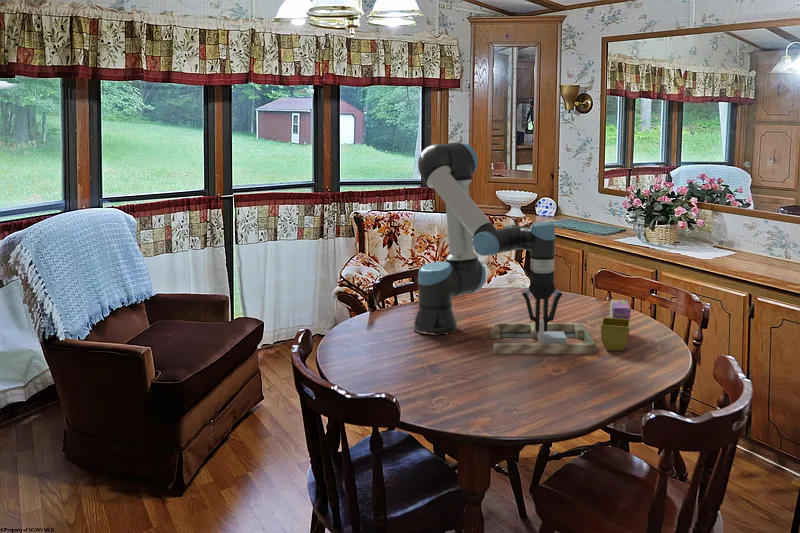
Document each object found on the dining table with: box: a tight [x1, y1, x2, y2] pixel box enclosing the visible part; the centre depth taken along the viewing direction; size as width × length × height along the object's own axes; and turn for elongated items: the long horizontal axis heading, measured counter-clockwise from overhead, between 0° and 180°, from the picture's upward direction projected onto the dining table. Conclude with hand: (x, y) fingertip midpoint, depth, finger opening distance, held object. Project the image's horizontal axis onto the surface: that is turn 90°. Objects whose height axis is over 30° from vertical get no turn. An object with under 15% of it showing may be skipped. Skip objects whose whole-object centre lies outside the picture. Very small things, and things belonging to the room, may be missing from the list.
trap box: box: [490, 322, 597, 355], centre depth 246 cm, size 32×23×3 cm
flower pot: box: [600, 317, 631, 352], centre depth 238 cm, size 9×9×9 cm
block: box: [541, 331, 568, 344], centre depth 242 cm, size 7×7×4 cm
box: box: [609, 299, 631, 343], centre depth 249 cm, size 10×6×12 cm, turn 168°
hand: (540, 340), depth 243 cm, fingers closed
